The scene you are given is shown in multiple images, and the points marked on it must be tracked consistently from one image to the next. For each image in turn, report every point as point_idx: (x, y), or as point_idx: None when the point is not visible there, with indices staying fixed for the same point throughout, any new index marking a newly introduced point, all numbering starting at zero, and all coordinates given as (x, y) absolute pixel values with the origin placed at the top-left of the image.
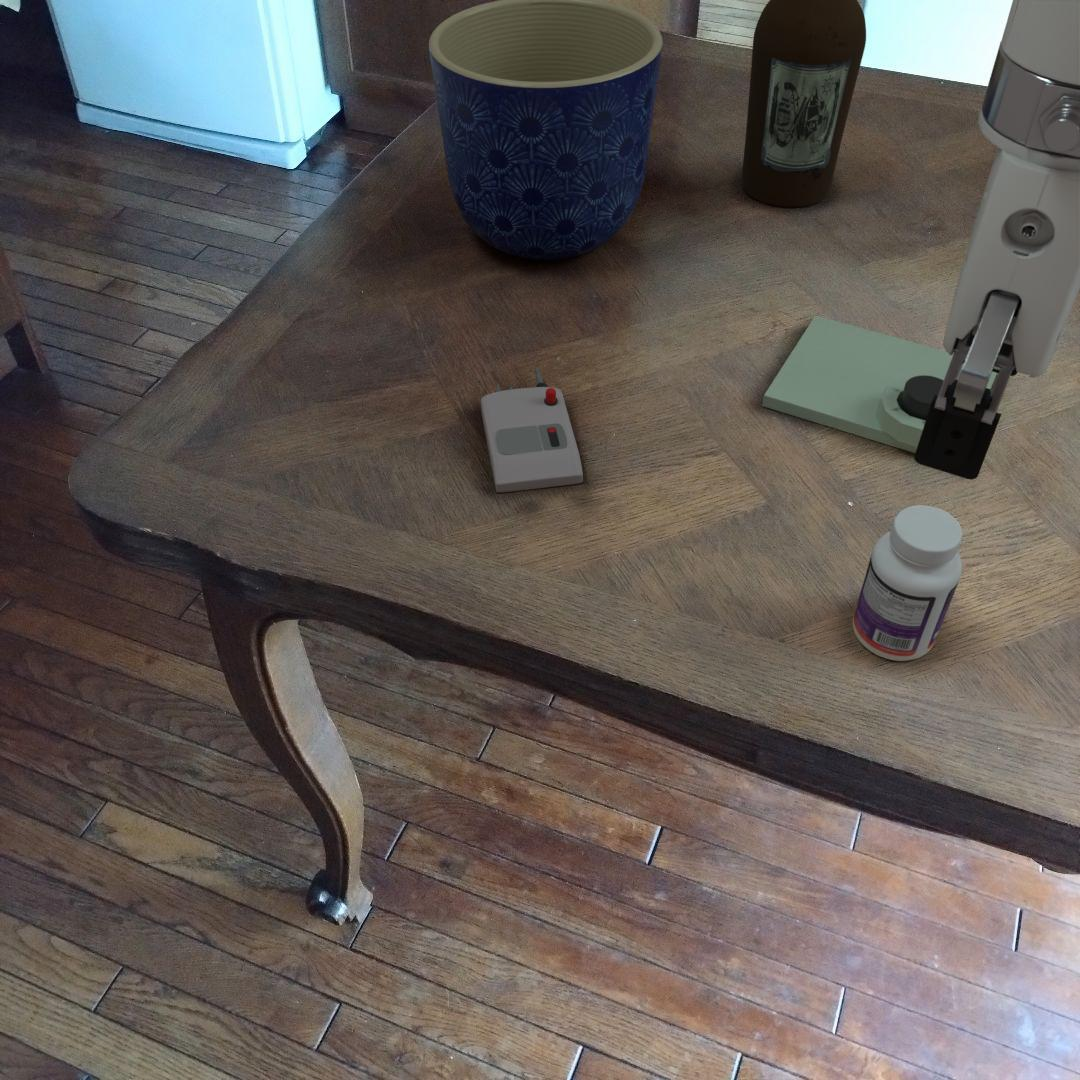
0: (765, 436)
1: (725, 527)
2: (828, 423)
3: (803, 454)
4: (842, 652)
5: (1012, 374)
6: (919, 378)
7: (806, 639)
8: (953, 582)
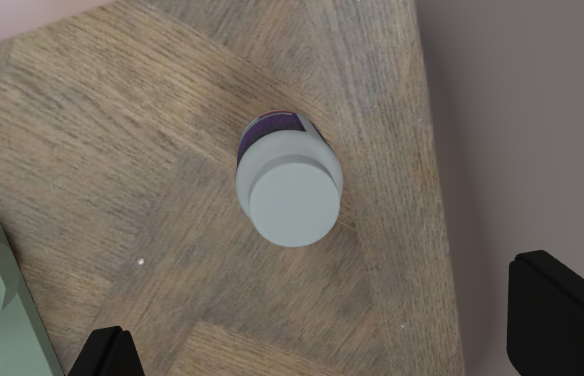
0: None
1: (255, 330)
2: (45, 336)
3: None
4: None
5: (127, 333)
6: None
7: None
8: (303, 135)
